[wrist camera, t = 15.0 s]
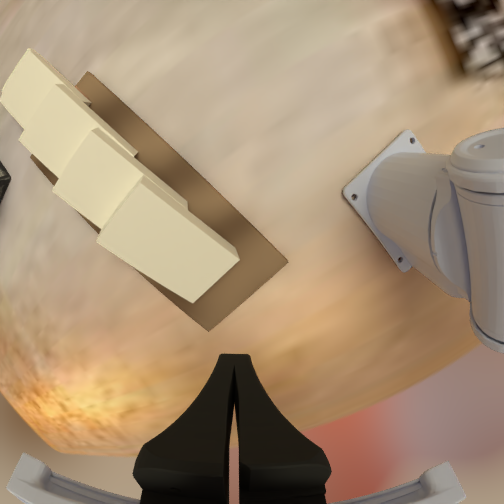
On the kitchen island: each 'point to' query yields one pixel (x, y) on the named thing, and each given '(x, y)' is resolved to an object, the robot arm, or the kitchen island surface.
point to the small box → (3, 180)
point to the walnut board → (199, 204)
